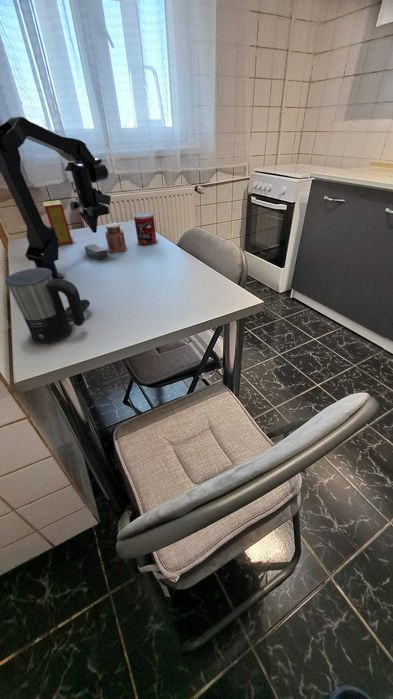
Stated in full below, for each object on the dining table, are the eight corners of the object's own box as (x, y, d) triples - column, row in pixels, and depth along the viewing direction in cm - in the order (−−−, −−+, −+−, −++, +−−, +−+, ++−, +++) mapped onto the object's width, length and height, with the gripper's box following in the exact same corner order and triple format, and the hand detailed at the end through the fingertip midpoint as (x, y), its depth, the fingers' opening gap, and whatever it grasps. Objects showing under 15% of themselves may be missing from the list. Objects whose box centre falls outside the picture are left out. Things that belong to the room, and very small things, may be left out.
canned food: (135, 245, 123) (130, 216, 116) (143, 239, 129) (139, 212, 122) (151, 246, 121) (148, 217, 114) (159, 240, 127) (156, 212, 120)
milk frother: (27, 347, 67) (-2, 287, 58) (38, 314, 79) (15, 260, 70) (92, 336, 69) (74, 277, 60) (92, 305, 82) (77, 252, 73)
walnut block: (108, 257, 112) (106, 249, 110) (98, 260, 110) (96, 252, 108) (95, 251, 118) (93, 243, 116) (86, 254, 116) (84, 246, 114)
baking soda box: (73, 243, 128) (61, 203, 118) (57, 246, 125) (44, 205, 116) (70, 237, 134) (59, 199, 125) (55, 240, 132) (42, 201, 123)
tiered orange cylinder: (124, 261, 118) (139, 238, 118) (102, 243, 109) (118, 219, 109) (113, 256, 123) (128, 234, 123) (92, 239, 114) (107, 215, 114)
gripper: (118, 184, 99) (126, 232, 108) (92, 179, 110) (102, 223, 119) (87, 189, 93) (99, 239, 102) (63, 184, 104) (76, 229, 114)
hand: (94, 232), depth 110 cm, fingers closed
